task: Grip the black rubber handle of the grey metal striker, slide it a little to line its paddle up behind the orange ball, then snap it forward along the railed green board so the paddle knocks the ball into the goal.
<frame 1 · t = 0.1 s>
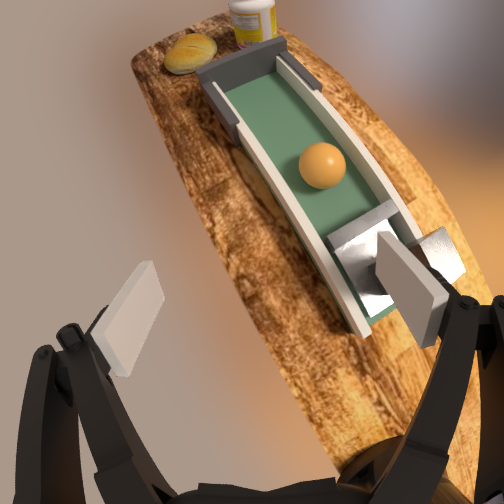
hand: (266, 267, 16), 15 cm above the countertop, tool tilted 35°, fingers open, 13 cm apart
supplement bottle: (257, 44, 38), on the countertop
goal: (263, 106, 35), on the countertop
striker: (397, 252, 22), point 8 cm above the countertop, slide at 0.0 cm
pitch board: (313, 173, 33), on the countertop
bread roll: (192, 59, 39), on the countertop
ball: (322, 165, 28), point 4 cm above the countertop, touching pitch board
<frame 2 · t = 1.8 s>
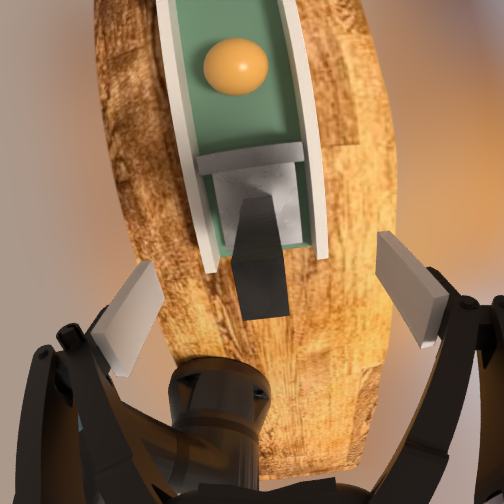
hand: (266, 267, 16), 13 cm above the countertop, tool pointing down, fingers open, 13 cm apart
striker: (257, 218, 19), point 8 cm above the countertop, slide at 0.0 cm
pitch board: (237, 65, 22), on the countertop
ball: (235, 66, 19), point 4 cm above the countertop, touching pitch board
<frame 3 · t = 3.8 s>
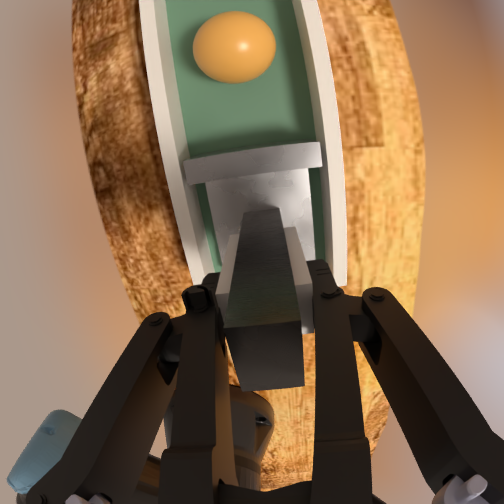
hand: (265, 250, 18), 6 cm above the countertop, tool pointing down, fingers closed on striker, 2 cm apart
striker: (262, 244, 15), point 8 cm above the countertop, slide at 0.1 cm, touching gripper
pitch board: (237, 48, 17), on the countertop
ball: (234, 46, 14), point 4 cm above the countertop, touching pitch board
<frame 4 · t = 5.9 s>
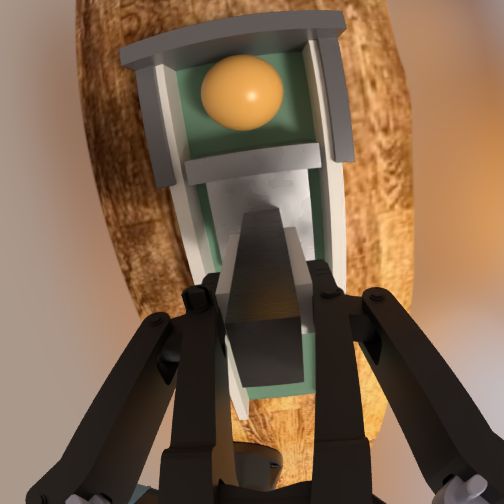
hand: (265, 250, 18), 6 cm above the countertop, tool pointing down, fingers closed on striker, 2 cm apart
goal: (247, 111, 19), on the countertop
striker: (262, 243, 15), point 8 cm above the countertop, slide at 17.1 cm, touching gripper
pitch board: (269, 255, 24), on the countertop
ball: (242, 92, 15), point 4 cm above the countertop, tilted 48°, touching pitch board
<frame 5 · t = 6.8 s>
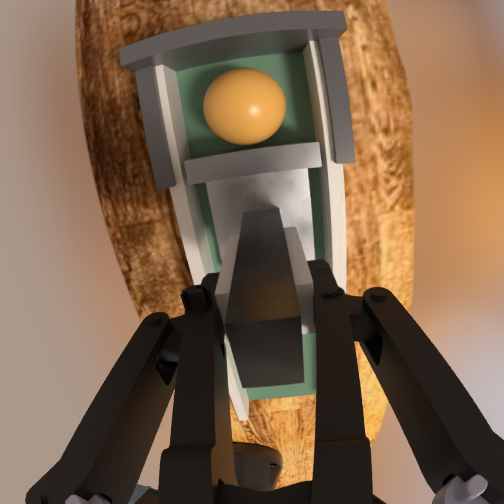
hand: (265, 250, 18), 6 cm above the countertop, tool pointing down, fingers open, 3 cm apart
goal: (247, 111, 19), on the countertop
striker: (262, 243, 15), point 8 cm above the countertop, slide at 17.2 cm
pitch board: (269, 256, 24), on the countertop
ball: (244, 105, 16), point 4 cm above the countertop, tilted 67°, touching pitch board
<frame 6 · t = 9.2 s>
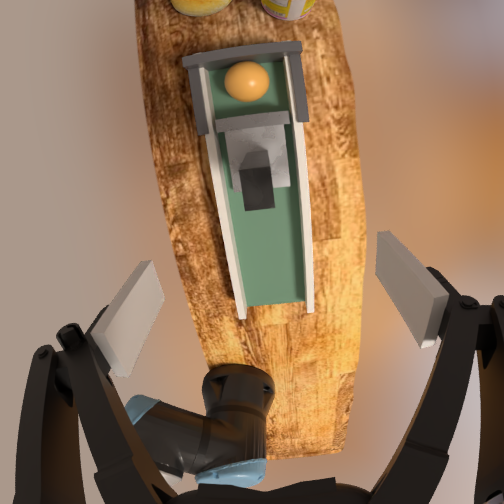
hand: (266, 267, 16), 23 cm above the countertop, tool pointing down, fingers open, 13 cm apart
supplement bottle: (286, 2, 26), on the countertop
goal: (250, 96, 32), on the countertop
striker: (256, 158, 28), point 8 cm above the countertop, slide at 17.2 cm
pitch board: (262, 185, 37), on the countertop
ball: (246, 81, 28), point 4 cm above the countertop, tilted 37°, touching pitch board
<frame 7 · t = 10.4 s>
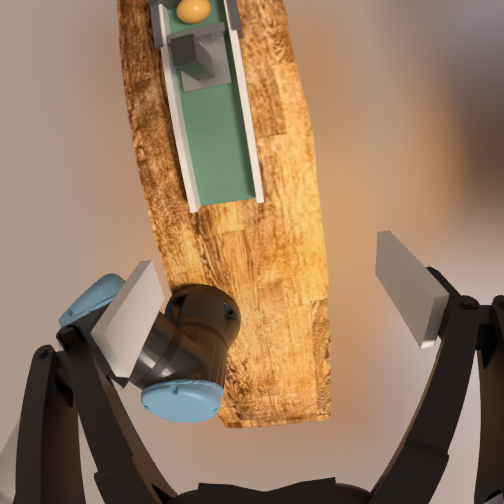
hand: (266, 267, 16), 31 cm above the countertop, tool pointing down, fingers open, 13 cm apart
goal: (200, 24, 33), on the countertop
striker: (194, 50, 29), point 8 cm above the countertop, slide at 17.2 cm
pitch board: (210, 90, 38), on the countertop
ball: (193, 9, 29), point 4 cm above the countertop, tilted 39°, touching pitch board
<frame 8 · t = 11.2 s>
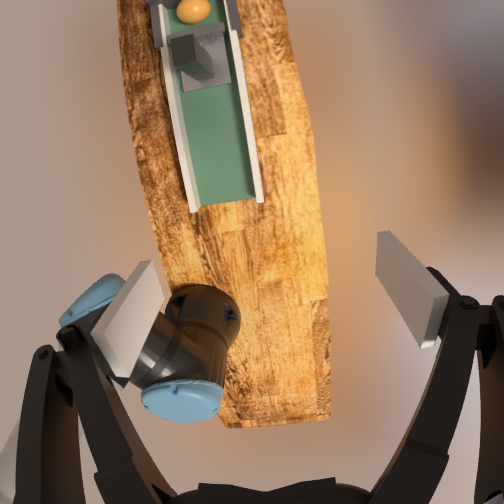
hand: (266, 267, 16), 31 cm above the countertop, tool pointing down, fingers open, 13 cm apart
goal: (200, 24, 33), on the countertop
striker: (194, 50, 29), point 8 cm above the countertop, slide at 17.2 cm
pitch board: (210, 90, 38), on the countertop
ball: (193, 9, 29), point 4 cm above the countertop, tilted 40°, touching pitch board
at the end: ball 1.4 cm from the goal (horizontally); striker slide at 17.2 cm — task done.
